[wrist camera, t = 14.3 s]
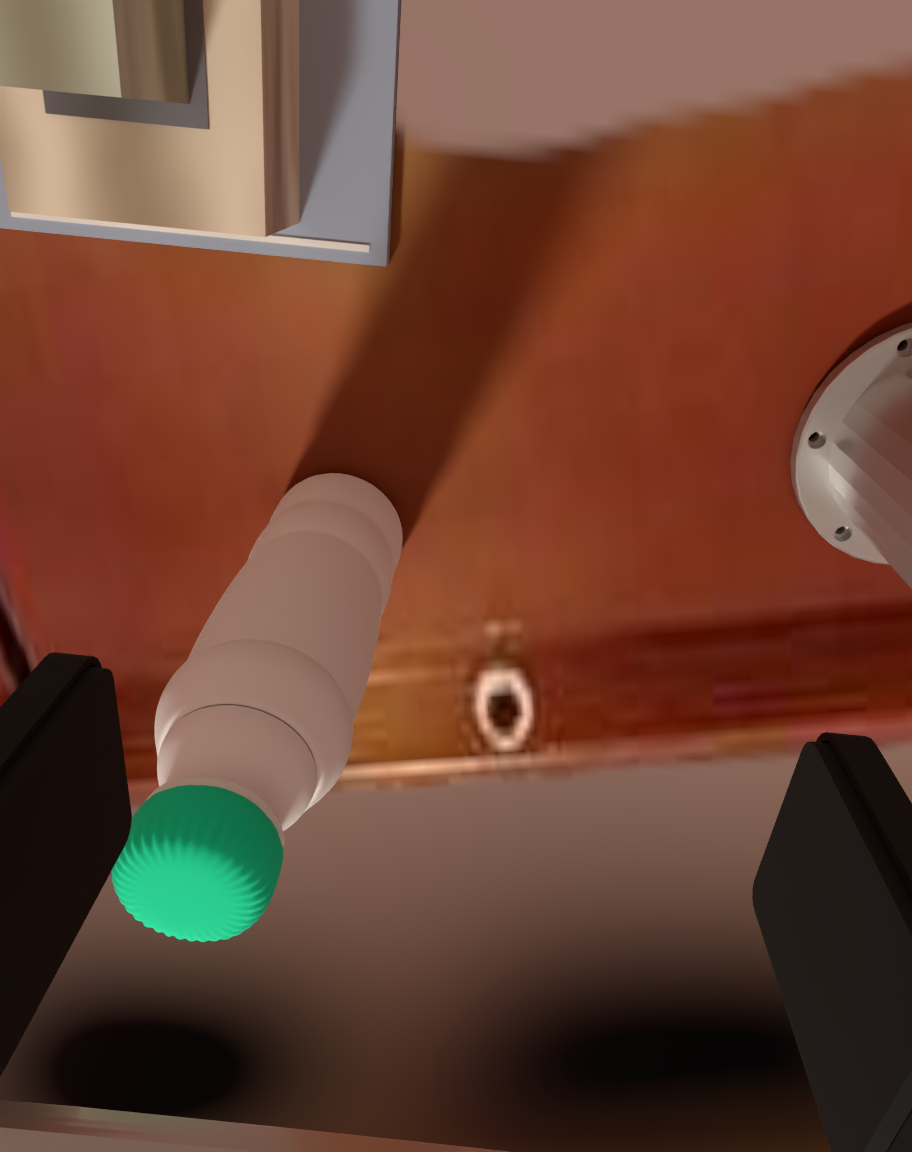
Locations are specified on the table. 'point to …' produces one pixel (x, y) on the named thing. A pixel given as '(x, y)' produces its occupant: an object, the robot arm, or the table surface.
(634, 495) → the table surface
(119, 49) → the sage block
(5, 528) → the table surface
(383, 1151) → the robot arm
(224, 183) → the plinth
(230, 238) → the board
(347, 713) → the water bottle
